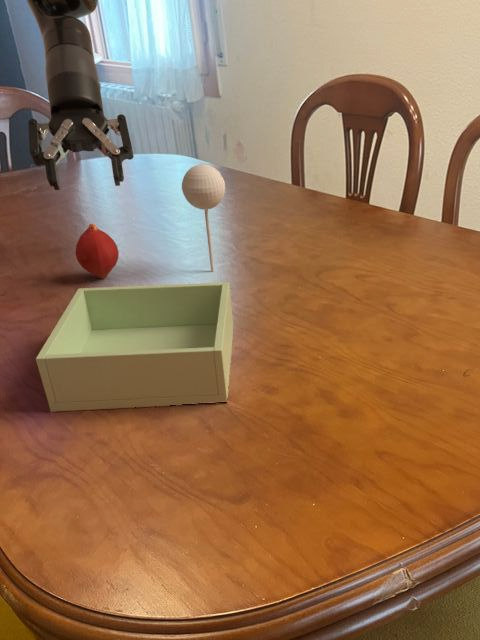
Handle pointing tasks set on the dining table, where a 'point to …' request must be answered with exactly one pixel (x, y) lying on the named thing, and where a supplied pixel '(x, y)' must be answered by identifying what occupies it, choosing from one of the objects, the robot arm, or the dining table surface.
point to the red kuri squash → (96, 252)
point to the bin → (140, 348)
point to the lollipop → (204, 193)
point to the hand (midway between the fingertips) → (87, 185)
